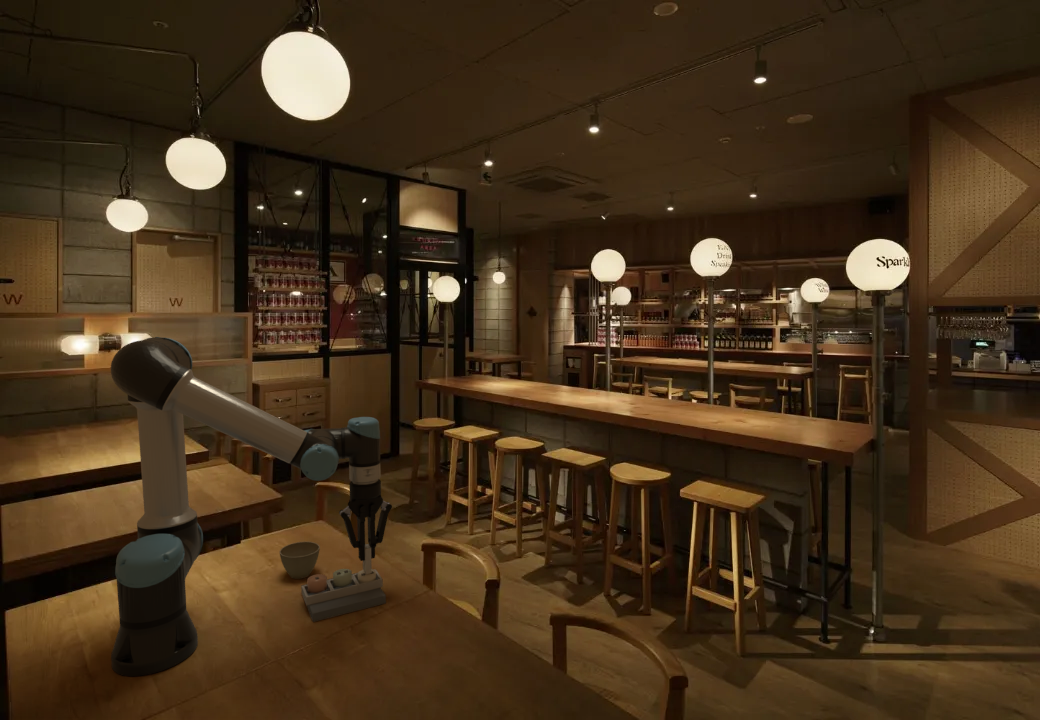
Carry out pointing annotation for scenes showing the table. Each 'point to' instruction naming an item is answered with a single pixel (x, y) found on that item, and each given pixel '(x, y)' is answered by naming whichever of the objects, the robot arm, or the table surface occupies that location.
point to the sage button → (342, 577)
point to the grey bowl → (299, 558)
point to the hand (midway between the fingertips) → (367, 571)
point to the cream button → (366, 576)
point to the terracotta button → (317, 583)
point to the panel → (343, 598)
